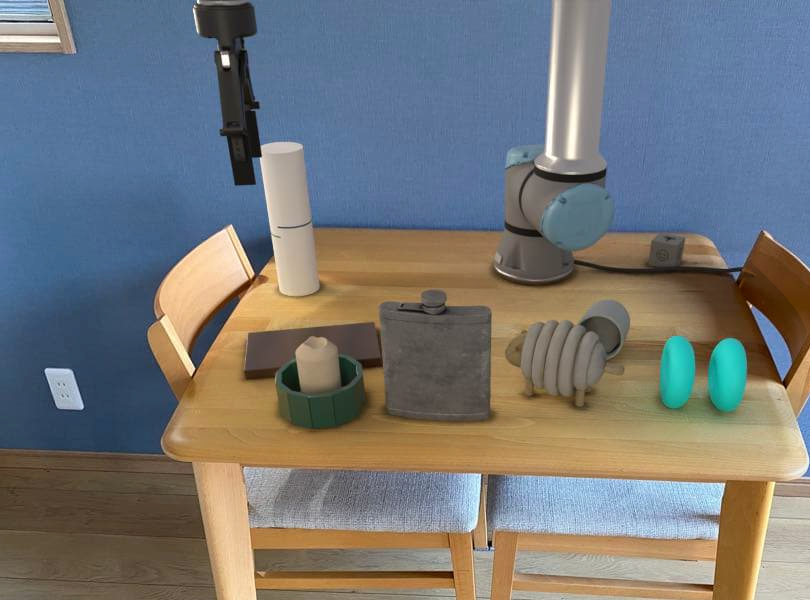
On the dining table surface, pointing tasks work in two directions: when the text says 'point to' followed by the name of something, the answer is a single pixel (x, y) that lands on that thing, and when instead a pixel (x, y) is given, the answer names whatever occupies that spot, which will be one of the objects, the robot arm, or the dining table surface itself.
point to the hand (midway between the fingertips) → (249, 170)
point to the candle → (318, 366)
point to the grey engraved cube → (666, 250)
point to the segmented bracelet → (321, 396)
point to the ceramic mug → (608, 324)
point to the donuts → (722, 374)
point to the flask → (436, 359)
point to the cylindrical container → (290, 217)
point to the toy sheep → (560, 359)
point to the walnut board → (280, 345)
